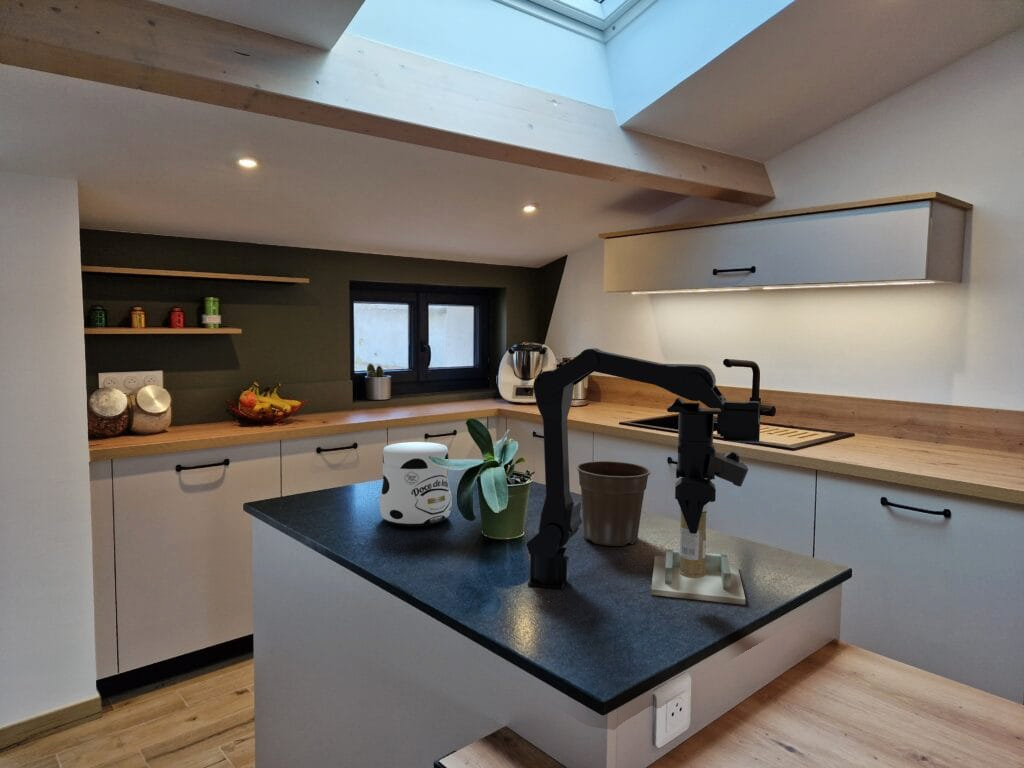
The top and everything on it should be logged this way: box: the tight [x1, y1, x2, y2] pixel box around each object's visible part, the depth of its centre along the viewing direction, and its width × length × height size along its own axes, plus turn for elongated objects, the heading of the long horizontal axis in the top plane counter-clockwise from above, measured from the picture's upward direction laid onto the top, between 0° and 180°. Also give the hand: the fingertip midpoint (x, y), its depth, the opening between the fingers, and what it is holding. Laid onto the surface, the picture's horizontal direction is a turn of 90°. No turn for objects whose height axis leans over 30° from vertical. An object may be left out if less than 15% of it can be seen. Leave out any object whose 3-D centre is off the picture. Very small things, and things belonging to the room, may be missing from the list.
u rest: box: [650, 548, 746, 606], centre depth 128 cm, size 16×18×4 cm
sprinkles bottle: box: [679, 502, 709, 579], centre depth 116 cm, size 5×5×13 cm
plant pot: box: [576, 460, 651, 547], centre depth 152 cm, size 16×16×16 cm
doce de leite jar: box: [378, 441, 453, 528], centre depth 163 cm, size 17×17×18 cm
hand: (693, 529), depth 116 cm, fingers closed on sprinkles bottle, 4 cm apart
